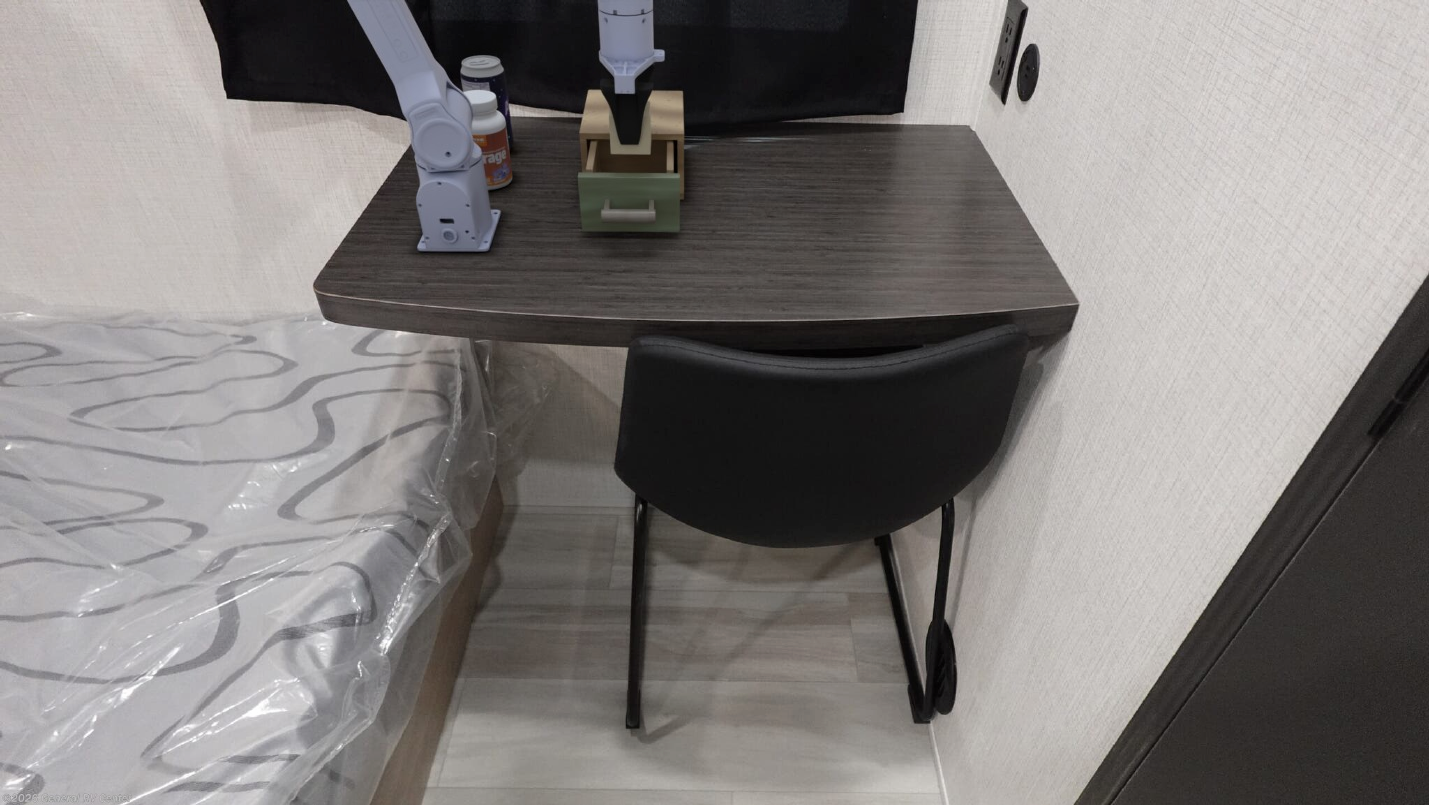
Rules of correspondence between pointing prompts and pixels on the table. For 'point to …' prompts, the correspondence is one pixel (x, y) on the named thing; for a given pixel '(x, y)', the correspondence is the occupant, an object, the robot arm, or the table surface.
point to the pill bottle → (491, 138)
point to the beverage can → (488, 83)
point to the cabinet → (663, 124)
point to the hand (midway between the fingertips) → (630, 134)
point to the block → (645, 137)
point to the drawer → (630, 190)
